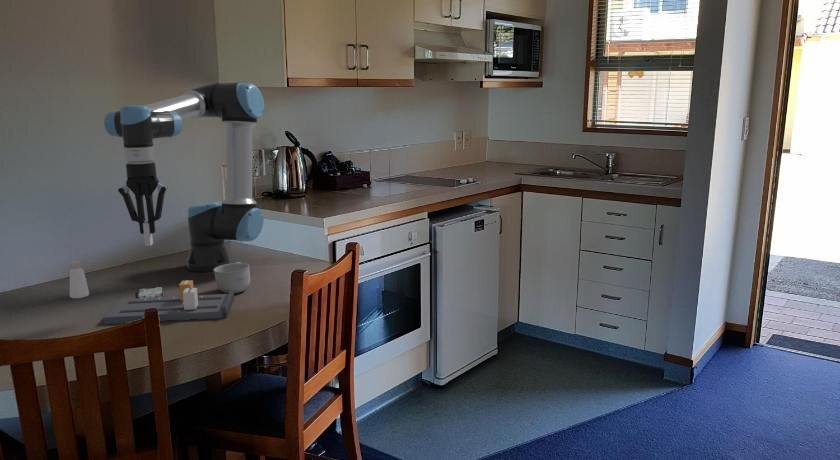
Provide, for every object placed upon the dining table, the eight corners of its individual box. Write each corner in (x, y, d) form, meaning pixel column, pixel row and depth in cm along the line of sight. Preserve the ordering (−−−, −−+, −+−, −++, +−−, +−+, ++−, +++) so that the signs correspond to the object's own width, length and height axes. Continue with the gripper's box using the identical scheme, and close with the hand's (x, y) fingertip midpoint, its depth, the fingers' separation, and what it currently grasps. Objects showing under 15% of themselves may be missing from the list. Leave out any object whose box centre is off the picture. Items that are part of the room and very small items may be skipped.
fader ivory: (187, 305, 182) (185, 288, 181) (198, 304, 183) (196, 287, 182) (184, 309, 178) (182, 292, 177) (195, 309, 179) (194, 291, 178)
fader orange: (183, 297, 190) (182, 280, 189) (194, 296, 190) (192, 280, 189) (180, 301, 186) (179, 284, 185) (191, 300, 186) (190, 283, 185)
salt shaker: (65, 297, 197) (61, 262, 195) (80, 292, 202) (76, 258, 200) (78, 299, 196) (74, 264, 193) (93, 294, 200) (89, 260, 198)
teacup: (241, 297, 197) (239, 272, 195) (208, 295, 199) (206, 270, 197) (261, 284, 210) (259, 260, 209) (230, 282, 212) (228, 258, 211)
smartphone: (135, 304, 189) (138, 289, 203) (136, 308, 190) (138, 292, 203) (162, 301, 192) (163, 286, 206) (163, 305, 192) (163, 289, 206)
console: (122, 305, 190) (121, 295, 189) (234, 299, 194) (233, 289, 193) (104, 324, 174) (103, 313, 173) (226, 317, 179) (225, 306, 178)
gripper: (111, 164, 174) (121, 248, 179) (161, 163, 176) (170, 246, 181) (119, 161, 181) (129, 242, 186) (168, 159, 183) (175, 240, 188)
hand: (149, 244), depth 183 cm, fingers closed
